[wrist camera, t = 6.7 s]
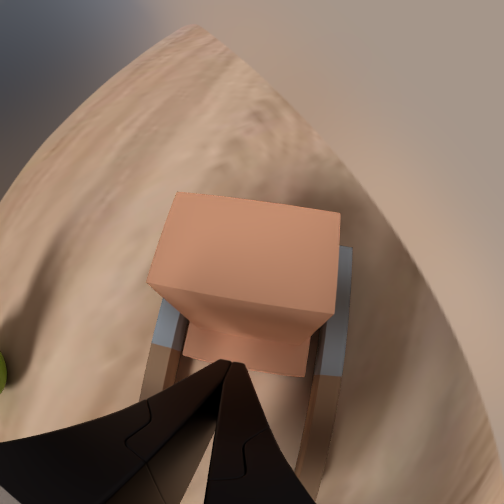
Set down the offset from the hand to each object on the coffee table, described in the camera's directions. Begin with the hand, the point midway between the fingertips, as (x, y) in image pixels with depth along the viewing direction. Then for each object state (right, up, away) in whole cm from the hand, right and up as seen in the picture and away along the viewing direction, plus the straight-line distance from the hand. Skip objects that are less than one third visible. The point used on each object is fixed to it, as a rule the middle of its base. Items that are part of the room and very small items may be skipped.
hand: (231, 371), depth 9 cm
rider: (+1, 0, +8) cm, 8 cm away
